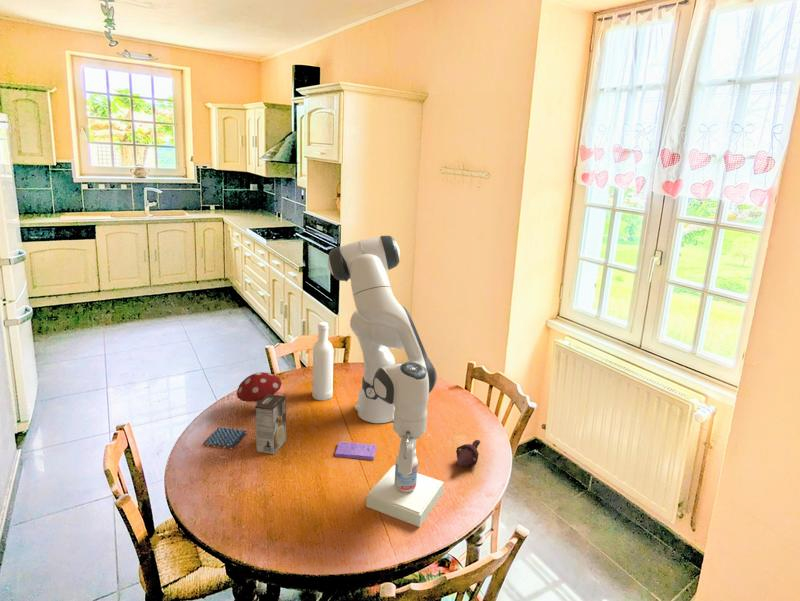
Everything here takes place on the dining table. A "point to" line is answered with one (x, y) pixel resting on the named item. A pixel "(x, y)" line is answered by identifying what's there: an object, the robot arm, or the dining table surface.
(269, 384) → the decorative mushroom
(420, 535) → the dining table surface
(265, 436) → the coffee box
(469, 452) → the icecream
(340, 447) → the sponges
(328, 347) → the bottle
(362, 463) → the dining table surface
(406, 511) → the base block
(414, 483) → the pill bottle
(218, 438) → the woven mat
